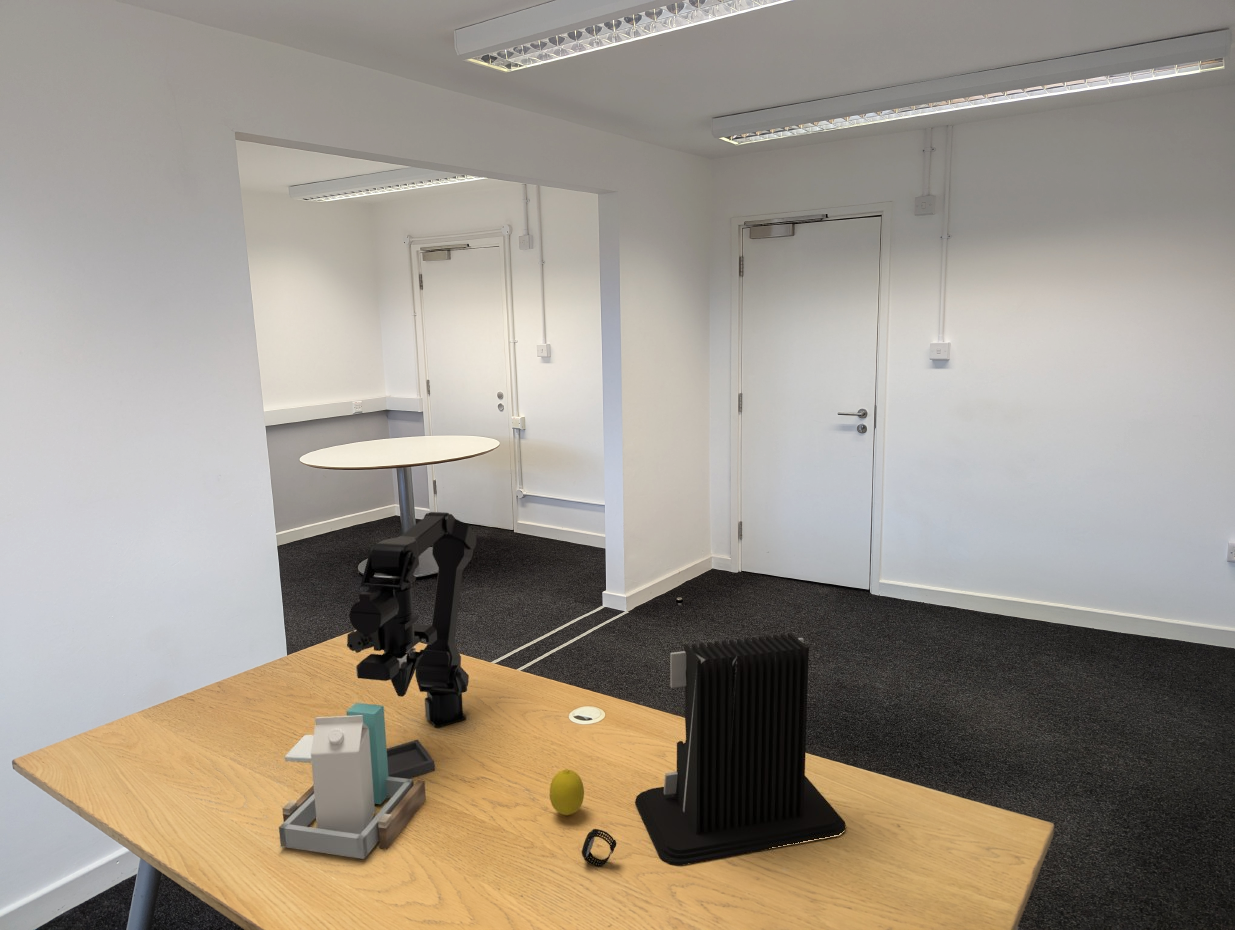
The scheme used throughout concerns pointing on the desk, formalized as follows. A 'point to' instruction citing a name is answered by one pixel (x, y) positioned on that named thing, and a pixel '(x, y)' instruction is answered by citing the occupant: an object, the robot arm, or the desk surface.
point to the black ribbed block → (738, 755)
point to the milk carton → (342, 774)
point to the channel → (388, 823)
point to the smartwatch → (589, 843)
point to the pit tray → (409, 760)
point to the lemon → (566, 792)
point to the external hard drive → (301, 750)
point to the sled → (360, 845)
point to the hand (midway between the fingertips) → (401, 695)
